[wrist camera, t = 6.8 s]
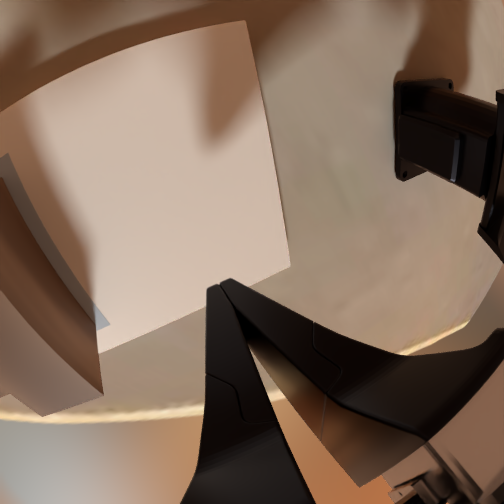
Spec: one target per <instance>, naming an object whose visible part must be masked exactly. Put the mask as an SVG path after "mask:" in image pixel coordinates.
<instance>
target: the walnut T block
mask: <svg viewBox="0 0 504 504" xmlns="http://www.w3.org/2000/svg"><path fill="white" fill-rule="evenodd" d="M8 394H11V395H13V396H14V397H15V398H16V399H18V400H19V401H20V402H22V403H23V404H25V405H26V406H27V407H29V408H30V409H32V410H33V411H34V412H36V413H37V414H39V415H40V416H42V417H43V416H46V415H49V414H53V413H56V412H59V411H62V410H65V409H68V408H70V407H73V406H76V405H79V404H82V403H85V402H88V401H90V400H93V399H96V398H99V397H101V396H104V393H103V387H102V380H101V372H100V364H99V355H98V345H97V333H96V324H95V323H94V322H93V321H92V320H91V318H90V317H89V316H88V315H87V313H86V312H85V311H84V309H83V308H82V307H81V305H80V304H79V303H78V302H77V300H76V299H75V298H74V296H73V295H72V293H71V292H70V291H69V289H68V288H67V287H66V285H65V284H64V282H63V281H62V279H61V278H60V277H59V275H58V274H57V272H56V271H55V269H54V268H53V266H52V265H51V263H50V262H49V260H48V259H47V257H46V256H45V254H44V252H43V251H42V249H41V248H40V246H39V244H38V243H37V241H36V240H35V238H34V236H33V235H32V233H31V231H30V229H29V228H28V226H27V224H26V222H25V221H24V219H23V217H22V215H21V213H20V212H19V210H18V208H17V206H16V204H15V202H14V200H13V198H12V196H11V194H10V192H9V190H8V188H7V186H6V184H5V182H4V180H3V178H2V177H0V397H3V396H5V395H8Z"/></svg>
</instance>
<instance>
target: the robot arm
mask: <svg viewBox="0 0 504 504" xmlns="http://www.w3.org/2000/svg"><path fill="white" fill-rule="evenodd" d="M395 99H396V178H397V179H399V180H401V181H406V180H409V179H411V178H413V177H415V176H418V175H420V174H422V173H424V172H427V171H428V172H430V173H432V174H434V175H436V176H438V177H440V178H442V179H444V180H446V181H448V182H450V183H453V184H455V185H457V186H459V187H461V188H463V189H464V190H466V191H468V192H470V193H472V194H474V195H475V196H477V197H479V198H481V199H483V200H484V201H486V202H485V206H484V211H483V215H482V220H481V222H480V223H479V226H478V230H477V232H478V234H479V235H480V236H481V237H482V238H483V240H484V241H485V242H486V243H487V244H488V245H489V246H490V248H491V249H492V250H493V251H494V252H495V254H496V255H497V256H498V257H499V258H500V260H501V261H502V262H503V263H504V89H501V90H496V101H497V105H495V104H492V103H489V102H486V101H483V100H480V99H477V98H474V97H471V96H468V95H464V94H461V93H458V92H454V91H453V82H452V80H450V79H446V78H439V79H419V80H405V81H398V82H397V83H396V86H395ZM249 348H250V349H251V351H252V352H253V353H254V355H255V356H256V358H257V359H258V360H259V362H260V363H261V364H262V366H263V367H264V369H265V370H266V371H267V373H268V374H269V375H270V377H271V378H272V379H273V381H274V382H275V383H276V385H277V386H278V387H279V389H280V390H281V391H282V393H283V394H284V395H285V397H286V398H287V399H288V401H289V402H290V403H291V405H292V406H293V407H294V409H295V410H296V411H297V412H298V414H299V415H300V416H301V418H302V419H303V420H304V421H305V423H306V424H307V425H308V426H309V428H310V429H311V430H312V431H313V433H314V434H315V435H316V436H317V438H318V439H319V440H320V441H321V443H322V444H323V445H324V446H325V448H326V449H327V450H328V451H329V453H330V454H331V455H332V456H333V457H334V458H335V460H336V461H337V462H338V463H339V465H340V466H341V467H342V468H343V469H344V470H345V472H346V473H347V474H348V475H349V476H350V477H351V479H352V480H353V481H354V482H355V483H356V484H357V486H359V487H361V486H363V485H365V484H367V483H368V482H370V481H371V480H373V479H375V478H377V477H378V476H380V475H382V476H383V478H384V479H385V480H386V481H387V483H388V484H389V486H390V487H391V488H392V489H393V490H392V491H390V492H389V493H388V495H389V496H390V498H391V499H392V500H393V502H394V503H395V504H446V503H447V502H448V504H504V328H497V329H495V330H494V331H493V332H492V334H491V335H490V336H489V337H488V338H487V339H486V341H484V342H483V343H482V344H480V345H478V346H476V347H473V348H470V349H465V350H458V351H451V352H444V353H436V354H426V355H417V356H406V355H399V354H394V353H391V352H388V351H385V350H382V349H379V348H376V347H373V346H370V345H368V344H365V343H362V342H359V341H356V340H354V339H351V338H348V337H346V336H343V335H341V334H338V333H336V332H334V331H332V330H330V329H328V328H326V327H323V326H322V325H320V324H318V323H316V322H314V323H313V321H312V320H310V319H308V318H306V317H304V316H302V315H300V314H298V313H296V312H294V311H292V310H291V309H289V308H287V307H285V306H283V305H281V304H279V303H277V302H275V301H273V300H272V299H270V298H268V297H266V296H264V295H262V294H260V293H258V292H257V291H255V290H253V289H251V288H249V287H247V286H245V285H244V284H242V283H240V282H238V281H236V280H234V279H233V278H228V279H226V280H224V281H221V282H220V284H215V285H212V286H210V287H208V288H207V289H206V333H205V374H206V376H205V406H204V416H203V417H204V418H203V424H202V432H201V440H200V448H199V456H198V462H197V466H196V470H195V473H194V476H193V478H192V480H191V482H190V485H189V487H188V488H187V491H186V493H185V495H184V497H183V499H182V501H181V503H180V504H316V503H315V501H314V498H313V497H312V494H311V492H310V490H309V488H308V486H307V484H306V482H305V480H304V478H303V476H302V473H301V472H300V469H299V467H298V465H297V463H296V461H295V458H294V456H293V454H292V452H291V450H290V447H289V445H288V443H287V441H286V439H285V436H284V434H283V432H282V429H281V427H280V424H279V422H278V420H277V417H276V415H275V412H274V410H273V407H272V405H271V402H270V400H269V397H268V395H267V392H266V390H265V387H264V385H263V382H262V380H261V377H260V375H259V372H258V369H257V367H256V364H255V362H254V359H253V357H252V354H251V351H250V349H249Z"/></svg>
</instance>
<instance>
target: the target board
mask: <svg viewBox="0 0 504 504" xmlns="http://www.w3.org/2000/svg"><path fill="white" fill-rule="evenodd" d="M0 177H2V178H3V180H4V182H5V184H6V186H7V188H8V190H9V192H10V194H11V196H12V198H13V200H14V202H15V204H16V206H17V208H18V210H19V212H20V213H21V215H22V217H23V219H24V221H25V222H26V224H27V226H28V228H29V229H30V231H31V233H32V235H33V236H34V238H35V240H36V241H37V243H38V244H39V246H40V248H41V249H42V251H43V252H44V254H45V256H46V257H47V259H48V260H49V262H50V263H51V265H52V266H53V268H54V269H55V271H56V272H57V274H58V275H59V277H60V278H61V279H62V281H63V282H64V284H65V285H66V287H67V288H68V289H69V291H70V292H71V293H72V295H73V296H74V298H75V299H76V300H77V302H78V303H79V304H80V305H81V307H82V308H83V309H84V311H85V312H86V313H87V315H88V316H89V317H90V318H91V320H92V321H93V322H94V323H95V324H96V333H97V345H98V354H100V353H102V352H104V351H107V350H109V349H111V348H114V347H116V346H118V345H121V344H123V343H125V342H128V341H130V340H132V339H134V338H137V337H139V336H141V335H144V334H146V333H148V332H150V331H153V330H155V329H157V328H159V327H162V326H164V325H166V324H168V323H171V322H173V321H175V320H177V319H179V318H182V317H184V316H186V315H188V314H190V313H193V312H195V311H197V310H199V309H201V308H203V307H206V289H207V288H208V287H210V286H212V285H215V284H220V282H221V281H224V280H226V279H228V278H233V279H234V280H236V281H238V282H240V283H242V284H244V285H245V286H247V287H248V286H251V285H253V284H255V283H257V282H259V281H261V280H263V279H265V278H267V277H269V276H271V275H273V274H276V273H278V272H280V271H282V270H284V269H286V268H288V267H290V266H291V265H290V258H289V251H288V244H287V238H286V231H285V225H284V219H283V212H282V206H281V200H280V194H279V188H278V182H277V176H276V171H275V165H274V159H273V154H272V148H271V143H270V137H269V132H268V127H267V121H266V116H265V111H264V106H263V101H262V96H261V91H260V86H259V81H258V76H257V71H256V66H255V62H254V57H253V52H252V48H251V43H250V39H249V34H248V30H247V25H246V21H245V20H242V21H235V22H229V23H223V24H217V25H212V26H207V27H202V28H198V29H193V30H189V31H185V32H181V33H177V34H173V35H169V36H165V37H162V38H158V39H155V40H152V41H148V42H145V43H142V44H139V45H136V46H133V47H130V48H127V49H125V50H122V51H119V52H116V53H114V54H111V55H109V56H106V57H104V58H101V59H99V60H96V61H94V62H92V63H89V64H87V65H85V66H83V67H80V68H78V69H76V70H74V71H72V72H70V73H68V74H66V75H63V76H61V77H60V78H58V79H56V80H54V81H52V82H50V83H48V84H46V85H44V86H43V87H41V88H39V89H37V90H35V91H34V92H32V93H30V94H29V95H27V96H25V97H23V98H22V99H20V100H19V101H17V102H15V103H14V104H12V105H11V106H9V107H8V108H6V109H5V110H3V111H2V112H0Z"/></svg>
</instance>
